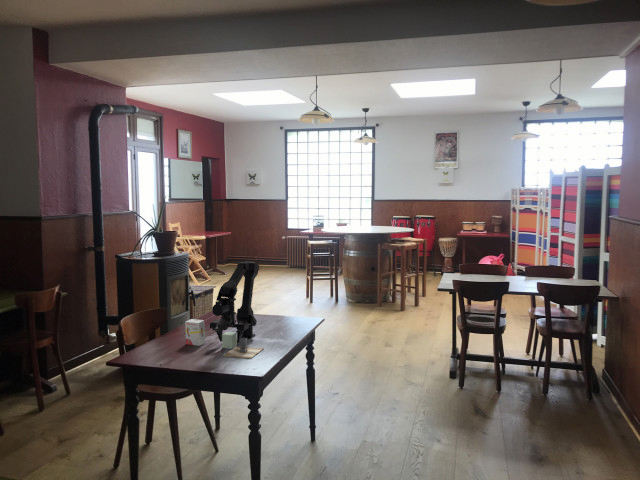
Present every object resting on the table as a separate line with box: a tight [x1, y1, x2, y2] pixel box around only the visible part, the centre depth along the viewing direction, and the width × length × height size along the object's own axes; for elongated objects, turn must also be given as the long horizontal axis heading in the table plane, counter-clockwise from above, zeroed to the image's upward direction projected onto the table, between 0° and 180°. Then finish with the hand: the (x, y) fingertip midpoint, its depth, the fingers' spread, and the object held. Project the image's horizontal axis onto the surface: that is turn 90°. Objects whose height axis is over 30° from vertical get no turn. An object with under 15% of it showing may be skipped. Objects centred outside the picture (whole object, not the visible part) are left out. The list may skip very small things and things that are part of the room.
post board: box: [223, 345, 264, 360], centre depth 243 cm, size 14×14×1 cm
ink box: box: [184, 318, 206, 347], centre depth 258 cm, size 9×5×12 cm, turn 68°
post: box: [239, 337, 248, 353], centre depth 243 cm, size 3×3×6 cm
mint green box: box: [221, 331, 238, 350], centre depth 253 cm, size 5×5×7 cm
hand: (229, 342), depth 253 cm, fingers open, 9 cm apart
